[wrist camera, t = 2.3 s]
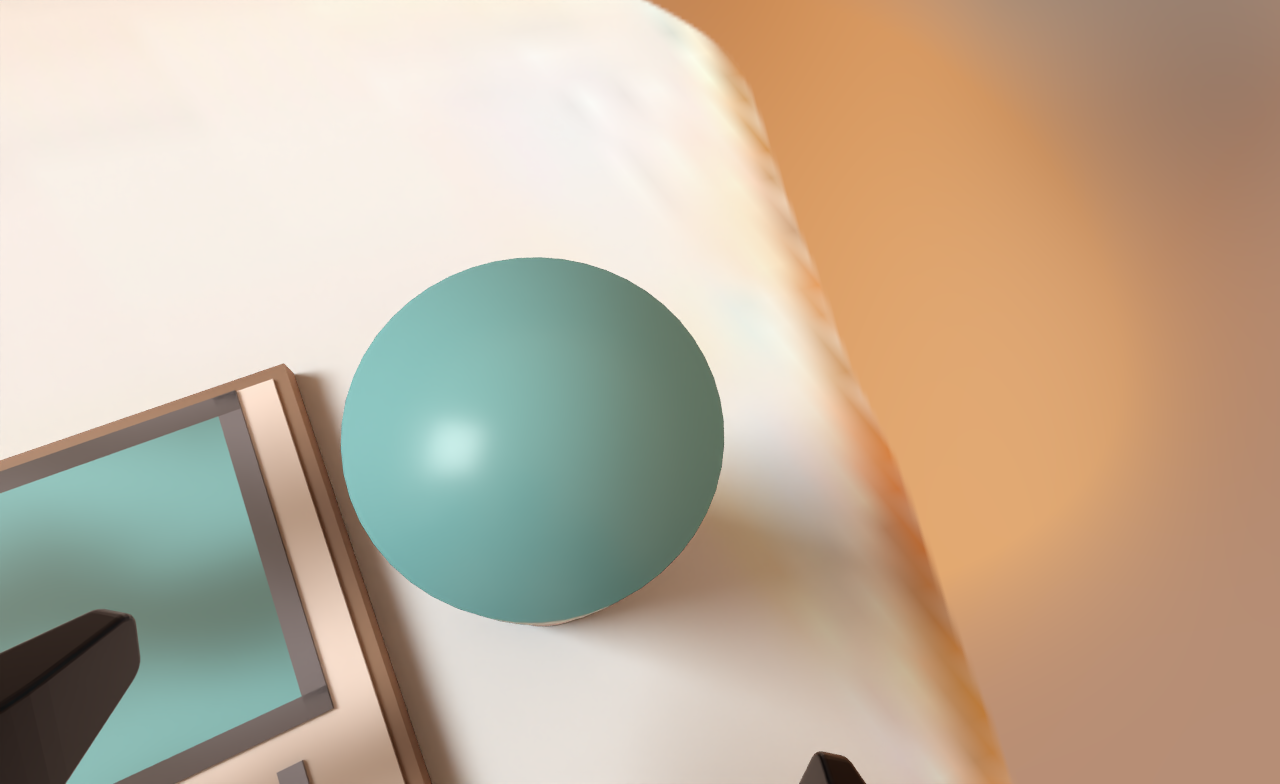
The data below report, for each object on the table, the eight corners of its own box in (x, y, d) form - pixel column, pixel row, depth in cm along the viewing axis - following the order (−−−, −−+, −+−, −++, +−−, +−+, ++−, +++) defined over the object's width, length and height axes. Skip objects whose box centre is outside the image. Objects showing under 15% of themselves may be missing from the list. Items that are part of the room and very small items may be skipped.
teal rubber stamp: (649, 587, 20) (788, 518, 8) (501, 658, 19) (418, 698, 7) (587, 447, 21) (630, 215, 9) (443, 507, 20) (291, 327, 8)
